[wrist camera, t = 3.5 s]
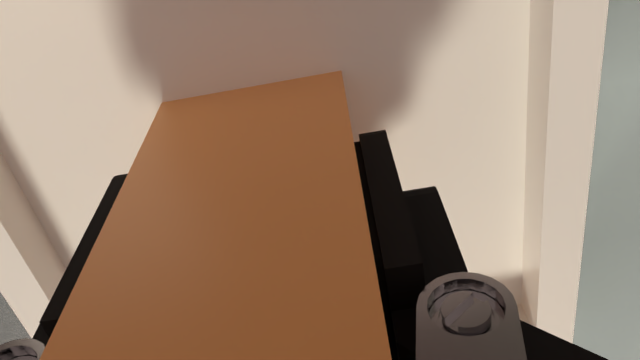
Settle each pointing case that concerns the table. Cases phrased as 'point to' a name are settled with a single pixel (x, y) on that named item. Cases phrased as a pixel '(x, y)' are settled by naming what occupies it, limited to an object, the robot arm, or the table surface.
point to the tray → (363, 105)
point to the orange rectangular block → (235, 238)
